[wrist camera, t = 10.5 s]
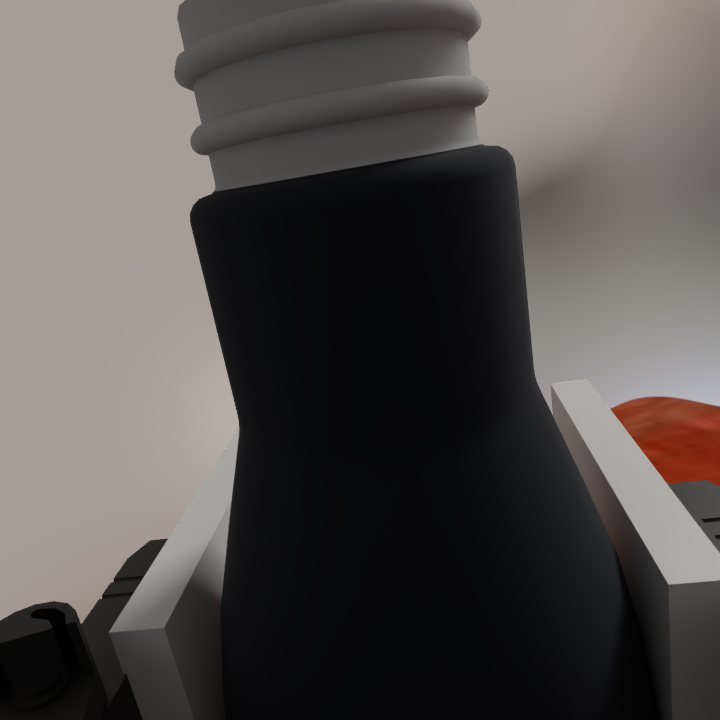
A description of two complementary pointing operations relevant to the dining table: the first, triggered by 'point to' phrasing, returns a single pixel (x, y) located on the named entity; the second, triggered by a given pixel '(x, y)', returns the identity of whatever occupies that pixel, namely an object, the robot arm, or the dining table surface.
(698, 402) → the dining table surface
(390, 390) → the black metal bottle
